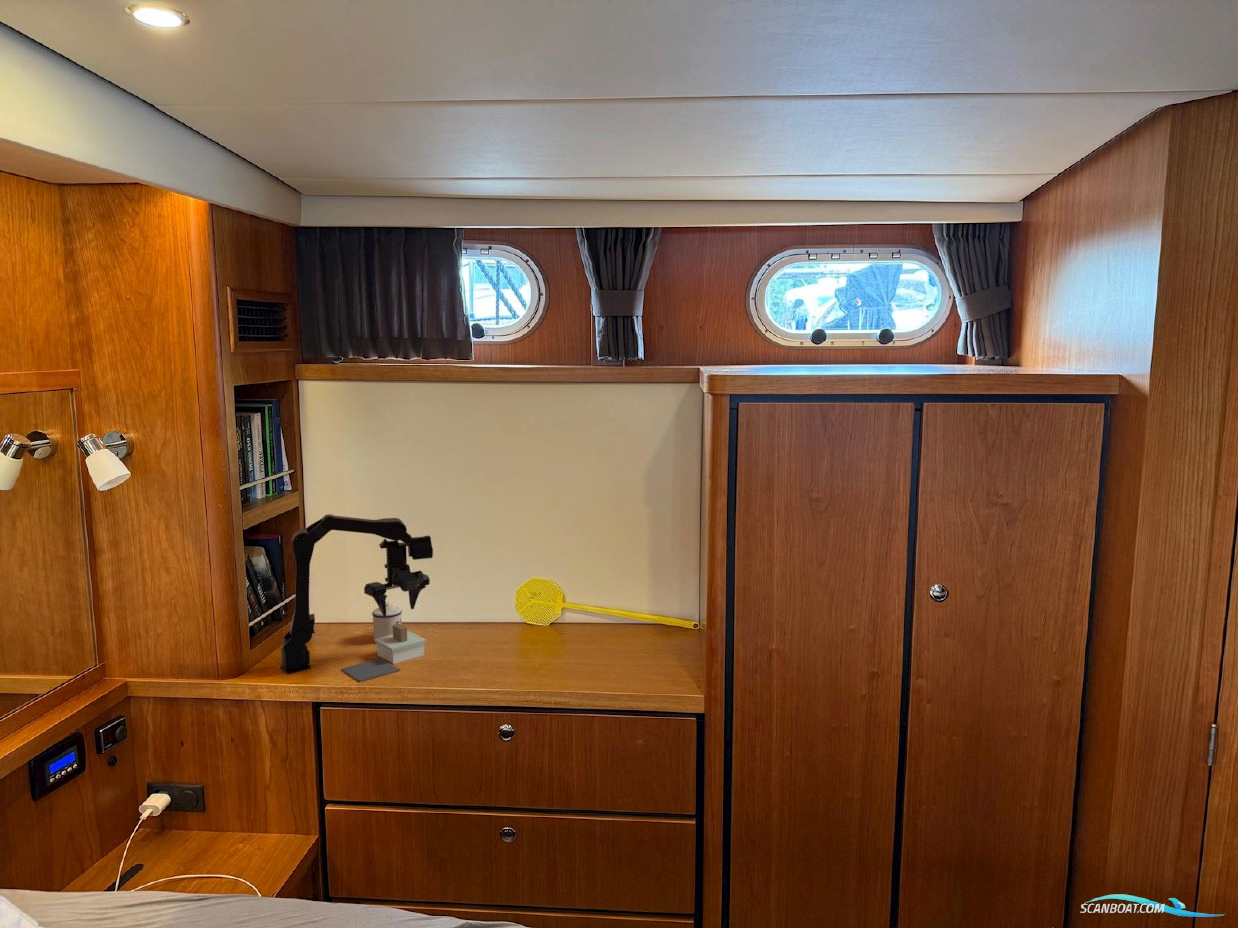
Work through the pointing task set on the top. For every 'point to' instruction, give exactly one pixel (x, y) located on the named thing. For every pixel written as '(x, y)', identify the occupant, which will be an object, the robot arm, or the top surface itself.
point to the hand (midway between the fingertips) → (398, 612)
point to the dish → (400, 653)
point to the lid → (399, 639)
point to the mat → (370, 669)
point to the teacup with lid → (386, 620)
